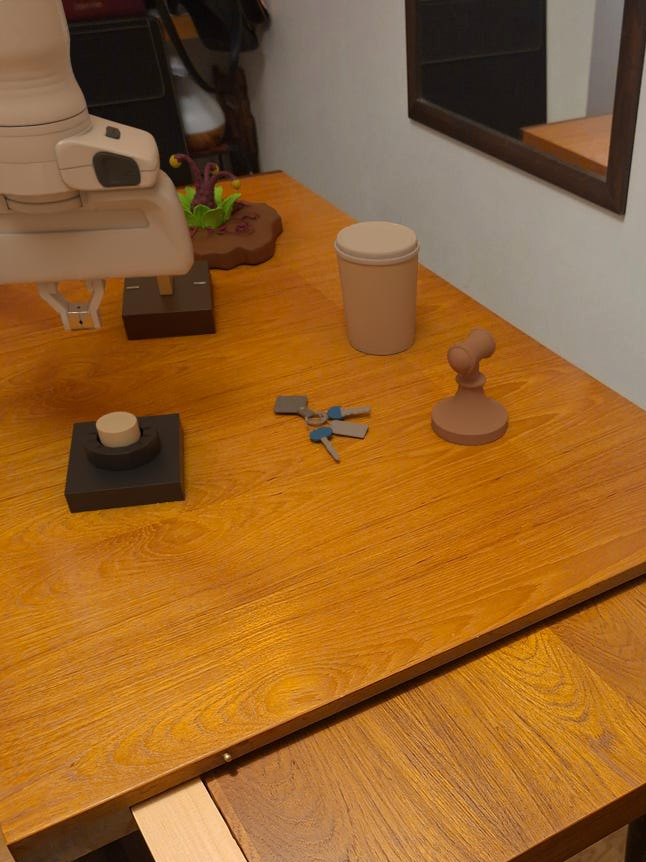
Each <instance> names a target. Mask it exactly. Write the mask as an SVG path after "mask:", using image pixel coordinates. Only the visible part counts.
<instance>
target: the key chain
mask: <svg viewBox="0 0 646 862" xmlns="http://www.w3.org/2000/svg"><path fill="white" fill-rule="evenodd" d="M307 403H308V396H307V395H277V396H276V398H275V403H274V407H273V412H274V413H277V414H279V413H284V414H285V413H289V414H291V413H294V414H295V413H296V414H297V415H300V416H301V417H303V418H304V421H305V423H304V424H305V425H306V427H308V428H309V429H311V430H312V431H311V432H310V433H309V434H308V437H309V439H310V440H311V441H314V442H317V441H321V442H322V444H323V445H324V446H325V448H326V450H327V451H328V452H329V453H330V455H331V456H332V457H333V459H335V461H340V460H341V458H340V456H339V454H338V452H337V450H336V449H335V447H334V446H333V444H332V443H331V441H329V439H328V438H329V437H331V436H332V435H333V434H336V435H340V436H341V435H342V436H348V437H354V438H359V439H364V438H365V436H366V433H367V431H368V429H369V424H363V423H357V422H351V421H346V420H345V421H344V420H341V419H344V417H346V416H348V417H349V416H351V415H356V416H357V415H358V414H362V413H366V414H368V413H369V412H371V410H372V408H371V406H370V405H366V406H359V407H351V408H345V407H342V405H335V406H331V407H330V408H328V409H327V411H326V412H325V411H317V410H316V411H313V410H312V409H309V408H308V407H307ZM314 416H319V417H314ZM329 419H331V420H332V421H329ZM312 420H317V421H312ZM325 422H327V424H328V423H329V426H320V427H317V428H315V427H311V426H310V425H314V426H317V425H322V424H324V423H325ZM308 424H309V425H308Z"/></svg>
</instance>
